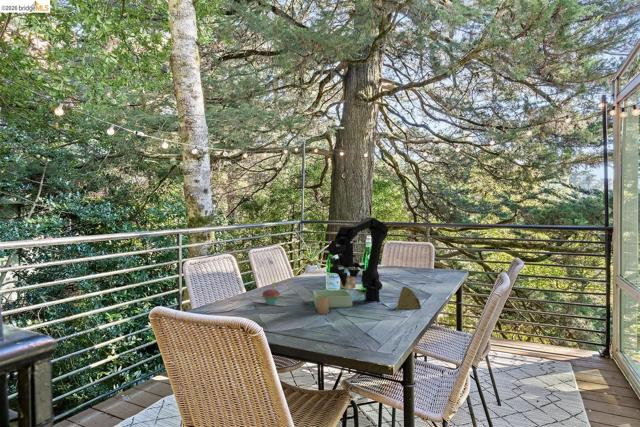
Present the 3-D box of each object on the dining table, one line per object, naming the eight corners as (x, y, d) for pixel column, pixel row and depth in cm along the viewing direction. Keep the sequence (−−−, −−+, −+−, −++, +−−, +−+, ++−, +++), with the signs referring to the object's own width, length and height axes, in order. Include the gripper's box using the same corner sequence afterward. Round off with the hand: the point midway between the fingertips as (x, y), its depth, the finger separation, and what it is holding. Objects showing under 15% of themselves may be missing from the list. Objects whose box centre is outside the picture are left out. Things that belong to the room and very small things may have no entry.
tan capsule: (328, 310, 189) (327, 295, 188) (329, 313, 184) (329, 298, 183) (317, 310, 188) (317, 295, 188) (318, 313, 183) (318, 298, 183)
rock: (425, 301, 194) (405, 296, 199) (423, 290, 189) (403, 284, 194) (416, 319, 187) (396, 313, 193) (414, 308, 182) (393, 301, 188)
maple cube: (347, 286, 195) (347, 275, 195) (355, 287, 192) (355, 277, 191) (340, 287, 192) (340, 277, 192) (348, 289, 188) (347, 278, 188)
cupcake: (283, 302, 203) (282, 278, 203) (274, 306, 196) (273, 282, 195) (268, 300, 207) (268, 277, 206) (259, 304, 199) (258, 280, 199)
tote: (347, 299, 208) (347, 289, 208) (352, 306, 195) (352, 296, 194) (313, 300, 206) (313, 290, 206) (315, 308, 193) (315, 297, 193)
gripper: (348, 249, 203) (348, 279, 204) (321, 253, 191) (321, 286, 191) (365, 251, 195) (365, 283, 196) (338, 255, 182) (338, 290, 183)
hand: (347, 285), depth 192 cm, fingers closed on maple cube, 5 cm apart
